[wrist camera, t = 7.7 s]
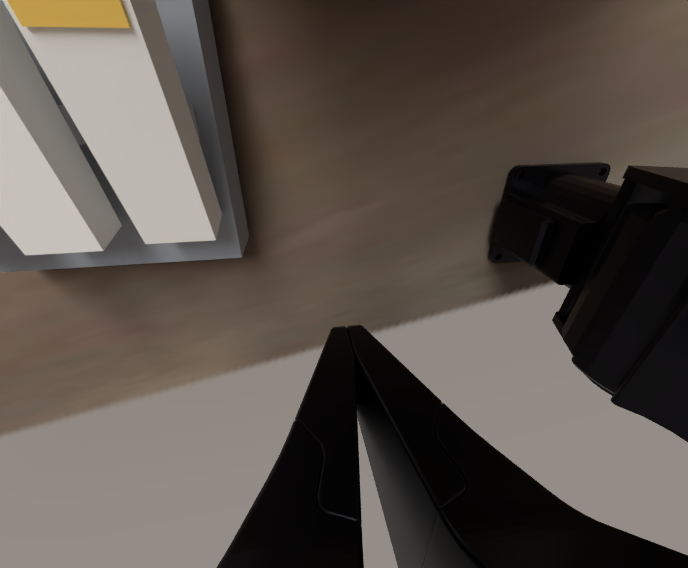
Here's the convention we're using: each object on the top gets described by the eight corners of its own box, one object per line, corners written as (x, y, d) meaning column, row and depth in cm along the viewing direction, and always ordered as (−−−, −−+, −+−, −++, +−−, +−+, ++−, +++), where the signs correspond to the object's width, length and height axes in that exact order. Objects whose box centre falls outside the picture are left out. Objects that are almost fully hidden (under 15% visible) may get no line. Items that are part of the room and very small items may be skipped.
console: (197, -62, 13) (160, -121, 9) (249, 236, 19) (239, 266, 16) (-176, -79, 11) (-378, -154, 8) (18, 249, 18) (-46, 284, 15)
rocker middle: (-32, -59, 8) (-104, -71, 7) (122, 225, 15) (101, 253, 13) (-160, -64, 8) (-266, -78, 7) (51, 228, 14) (23, 257, 13)
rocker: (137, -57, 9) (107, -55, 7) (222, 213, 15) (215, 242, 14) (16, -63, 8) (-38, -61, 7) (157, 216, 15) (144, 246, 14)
